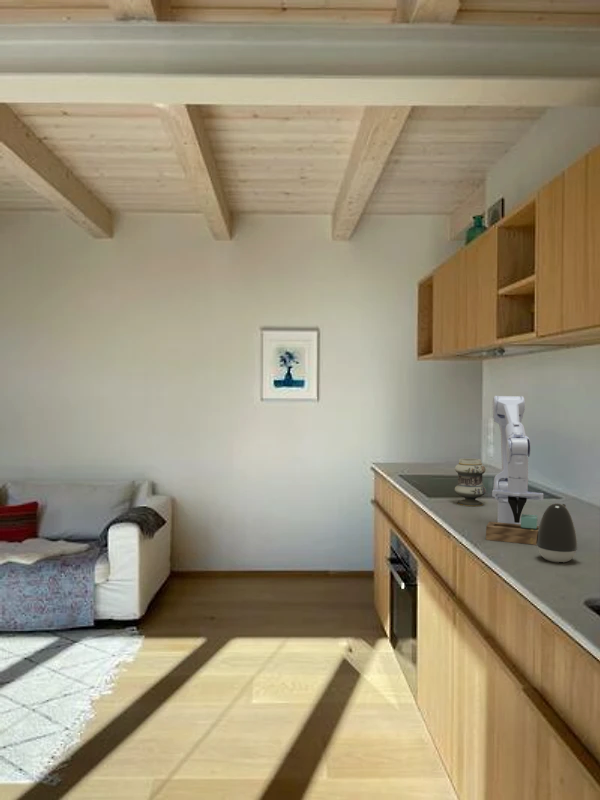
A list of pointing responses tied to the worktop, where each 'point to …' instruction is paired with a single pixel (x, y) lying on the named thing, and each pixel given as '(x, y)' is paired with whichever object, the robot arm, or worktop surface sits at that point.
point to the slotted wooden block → (510, 533)
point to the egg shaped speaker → (557, 534)
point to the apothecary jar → (470, 481)
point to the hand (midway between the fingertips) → (517, 522)
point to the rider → (529, 521)
